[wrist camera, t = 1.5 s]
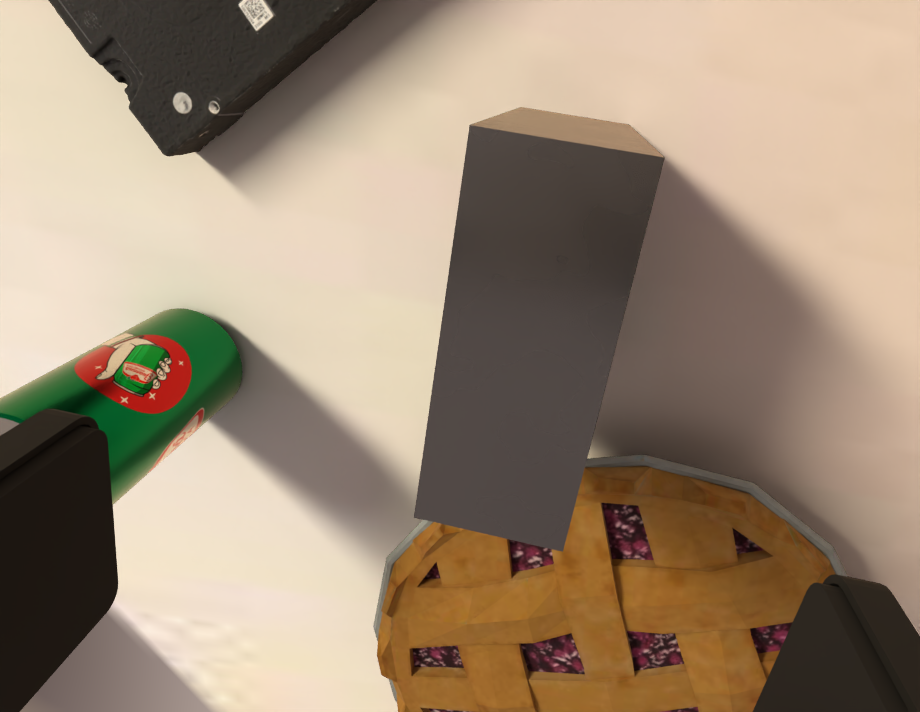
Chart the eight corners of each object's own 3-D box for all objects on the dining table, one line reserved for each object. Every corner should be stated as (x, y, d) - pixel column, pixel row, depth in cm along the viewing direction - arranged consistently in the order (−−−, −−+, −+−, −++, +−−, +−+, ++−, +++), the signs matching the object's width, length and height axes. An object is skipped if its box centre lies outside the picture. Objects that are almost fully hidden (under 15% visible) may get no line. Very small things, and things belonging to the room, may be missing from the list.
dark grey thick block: (628, 124, 24) (664, 157, 13) (571, 371, 28) (563, 551, 17) (520, 107, 25) (469, 125, 14) (479, 352, 29) (414, 517, 18)
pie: (325, 480, 33) (284, 544, 28) (797, 362, 27) (841, 419, 22) (477, 789, 39) (463, 882, 35) (885, 751, 33) (933, 858, 29)
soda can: (179, 415, 33) (-27, 582, 22) (128, 321, 31) (-120, 450, 20) (266, 390, 31) (94, 555, 20) (217, 290, 30) (3, 411, 19)
